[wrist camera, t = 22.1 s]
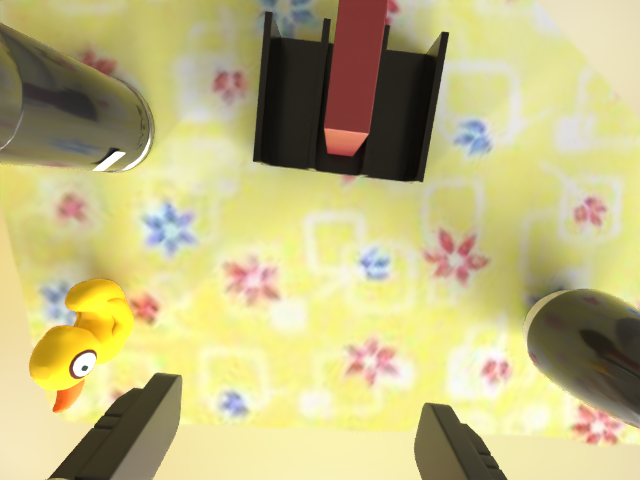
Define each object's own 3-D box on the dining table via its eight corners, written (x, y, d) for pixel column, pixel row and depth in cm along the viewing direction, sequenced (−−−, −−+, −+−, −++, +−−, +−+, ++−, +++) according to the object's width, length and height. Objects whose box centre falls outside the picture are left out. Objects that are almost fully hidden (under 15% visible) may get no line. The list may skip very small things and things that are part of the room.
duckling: (142, 364, 38) (75, 427, 28) (98, 360, 38) (15, 421, 28) (141, 272, 36) (68, 306, 26) (94, 268, 36) (4, 299, 26)
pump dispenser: (608, 354, 35) (811, 478, 20) (513, 372, 36) (642, 505, 21) (599, 268, 34) (812, 333, 19) (500, 289, 35) (629, 368, 20)
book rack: (262, 165, 33) (249, 161, 28) (273, 40, 31) (261, 10, 26) (410, 183, 33) (426, 182, 28) (431, 59, 31) (453, 32, 26)
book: (327, 153, 32) (323, 128, 18) (337, 67, 30) (343, -31, 17) (352, 156, 32) (369, 134, 18) (364, 70, 30) (392, -26, 17)
